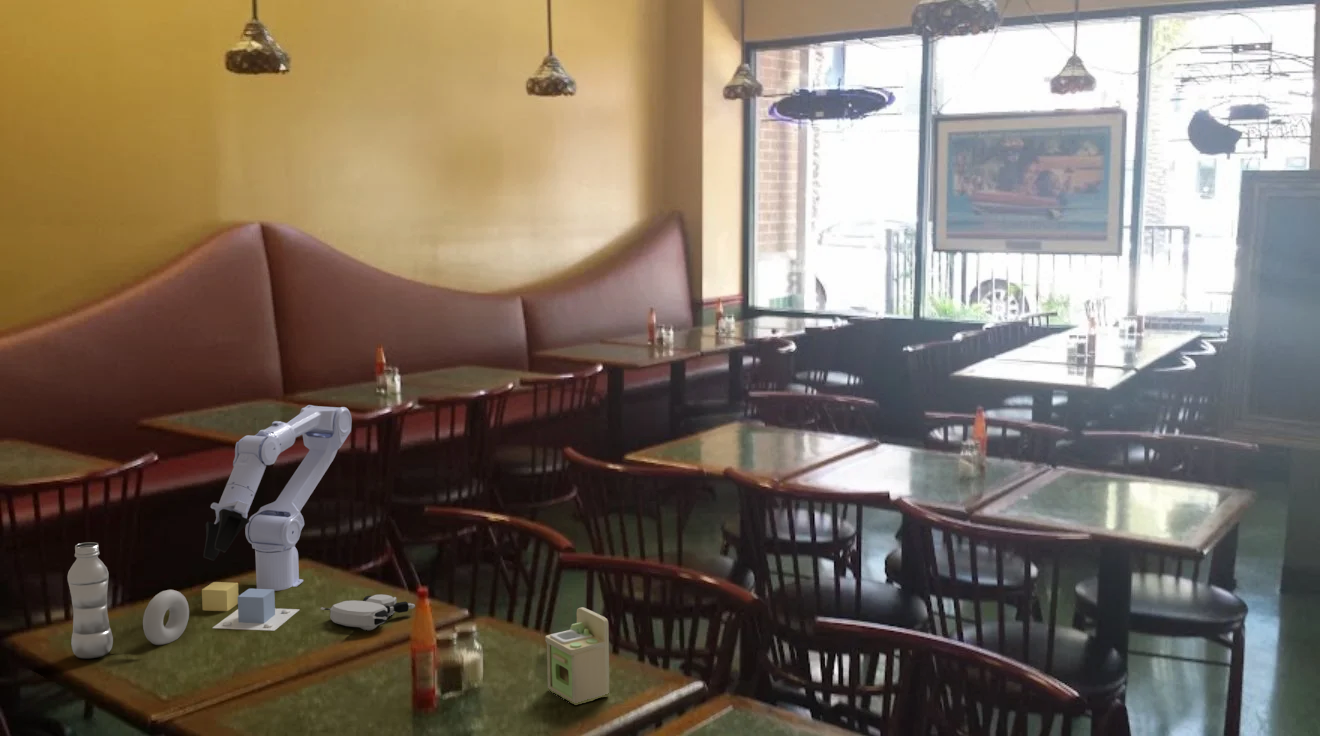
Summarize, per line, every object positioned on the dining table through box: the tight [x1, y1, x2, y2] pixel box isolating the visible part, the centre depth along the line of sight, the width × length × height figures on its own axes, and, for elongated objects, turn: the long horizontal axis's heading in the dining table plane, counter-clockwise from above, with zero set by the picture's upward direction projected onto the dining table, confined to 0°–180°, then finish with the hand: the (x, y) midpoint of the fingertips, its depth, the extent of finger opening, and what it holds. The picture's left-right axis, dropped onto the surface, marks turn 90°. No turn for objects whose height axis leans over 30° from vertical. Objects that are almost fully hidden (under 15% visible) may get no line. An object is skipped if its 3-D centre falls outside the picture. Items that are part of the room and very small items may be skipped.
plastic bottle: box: [67, 542, 114, 659], centre depth 207 cm, size 6×7×20 cm
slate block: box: [237, 588, 276, 623], centre depth 225 cm, size 5×5×5 cm
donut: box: [142, 589, 190, 646], centre depth 213 cm, size 10×3×10 cm, turn 161°
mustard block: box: [201, 581, 240, 612], centre depth 232 cm, size 5×5×5 cm
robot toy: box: [320, 594, 416, 631], centre depth 227 cm, size 12×4×15 cm
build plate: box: [212, 607, 300, 632], centre depth 226 cm, size 12×12×1 cm
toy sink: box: [544, 606, 610, 703], centre depth 192 cm, size 8×7×13 cm
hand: (214, 554), depth 227 cm, fingers open, 7 cm apart
